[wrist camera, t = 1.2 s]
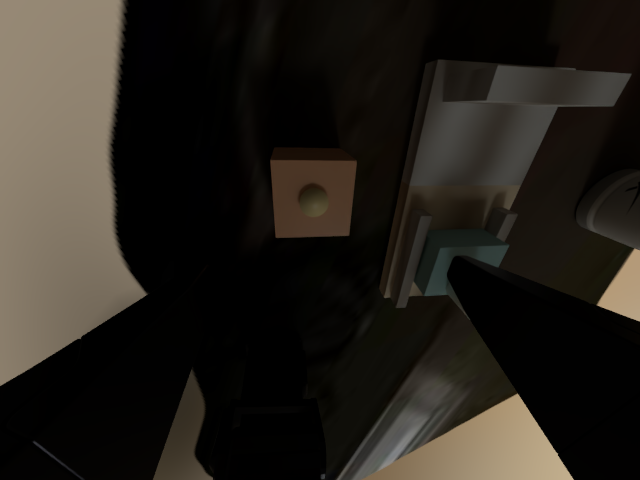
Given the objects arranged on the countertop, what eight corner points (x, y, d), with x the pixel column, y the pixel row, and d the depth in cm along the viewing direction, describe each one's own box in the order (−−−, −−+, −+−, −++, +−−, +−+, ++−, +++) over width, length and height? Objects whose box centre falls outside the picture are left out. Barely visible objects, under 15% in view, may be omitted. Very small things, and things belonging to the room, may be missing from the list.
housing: (278, 209, 20) (275, 240, 15) (274, 147, 17) (270, 161, 13) (335, 208, 20) (349, 237, 16) (340, 148, 18) (358, 162, 13)
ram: (408, 276, 23) (459, 348, 16) (421, 230, 20) (488, 292, 14) (463, 273, 24) (534, 341, 17) (482, 228, 21) (576, 286, 14)
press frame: (379, 288, 26) (399, 329, 21) (425, 63, 16) (485, 44, 11) (461, 283, 27) (499, 320, 22) (553, 71, 17) (657, 57, 12)
